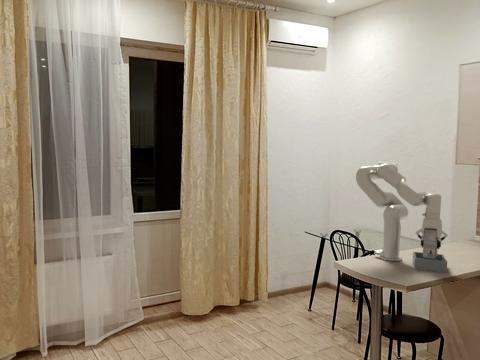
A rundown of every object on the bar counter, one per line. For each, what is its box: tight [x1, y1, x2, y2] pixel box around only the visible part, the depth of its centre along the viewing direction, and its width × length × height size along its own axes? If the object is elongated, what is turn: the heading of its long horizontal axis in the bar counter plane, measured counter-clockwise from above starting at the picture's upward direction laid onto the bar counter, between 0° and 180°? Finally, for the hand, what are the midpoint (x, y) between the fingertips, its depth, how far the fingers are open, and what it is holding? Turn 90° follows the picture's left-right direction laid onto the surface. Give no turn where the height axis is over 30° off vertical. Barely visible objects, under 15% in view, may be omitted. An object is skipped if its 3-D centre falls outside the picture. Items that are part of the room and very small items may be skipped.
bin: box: [412, 251, 448, 274], centre depth 245 cm, size 16×16×6 cm
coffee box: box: [422, 228, 439, 259], centre depth 244 cm, size 9×6×16 cm
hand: (430, 247), depth 244 cm, fingers closed on coffee box, 7 cm apart
